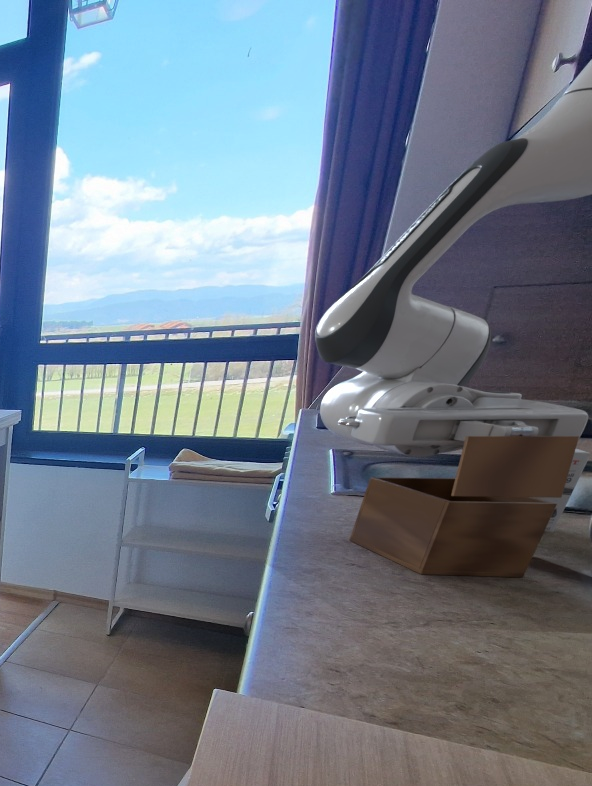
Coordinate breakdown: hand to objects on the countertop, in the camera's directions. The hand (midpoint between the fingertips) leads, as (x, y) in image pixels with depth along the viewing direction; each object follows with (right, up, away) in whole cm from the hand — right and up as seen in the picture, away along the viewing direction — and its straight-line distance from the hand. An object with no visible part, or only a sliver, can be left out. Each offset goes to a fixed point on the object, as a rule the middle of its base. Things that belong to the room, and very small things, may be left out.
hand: (520, 436), depth 66 cm
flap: (0, -3, +1) cm, 3 cm away
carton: (+1, -12, +11) cm, 16 cm away
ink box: (+17, -9, +18) cm, 26 cm away
